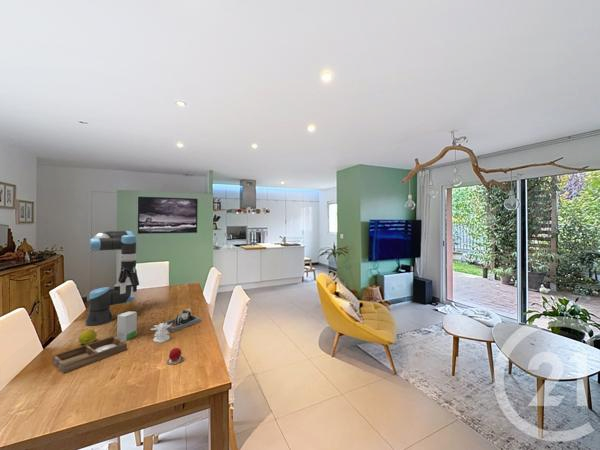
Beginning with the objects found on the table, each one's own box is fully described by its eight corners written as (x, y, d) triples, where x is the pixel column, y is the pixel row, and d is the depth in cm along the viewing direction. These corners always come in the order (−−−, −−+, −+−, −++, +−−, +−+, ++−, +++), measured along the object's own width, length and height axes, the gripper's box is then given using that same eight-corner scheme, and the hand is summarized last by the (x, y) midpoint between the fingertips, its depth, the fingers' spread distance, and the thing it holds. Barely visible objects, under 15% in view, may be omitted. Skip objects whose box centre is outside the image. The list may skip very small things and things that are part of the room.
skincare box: (125, 342, 146) (125, 316, 146) (115, 341, 147) (116, 315, 147) (137, 336, 154) (137, 311, 154) (128, 335, 155) (128, 310, 155)
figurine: (172, 334, 157) (172, 318, 157) (172, 340, 149) (172, 323, 149) (150, 338, 152) (150, 321, 152) (149, 344, 144) (149, 326, 144)
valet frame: (160, 327, 168) (160, 323, 168) (188, 317, 186) (188, 314, 186) (172, 332, 161) (172, 328, 161) (200, 321, 178) (200, 318, 178)
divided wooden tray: (52, 364, 122) (52, 355, 122) (113, 343, 144) (113, 335, 144) (63, 375, 114) (63, 365, 114) (126, 351, 136) (126, 343, 136)
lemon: (93, 346, 141) (93, 332, 141) (75, 349, 137) (76, 334, 137) (99, 338, 151) (99, 325, 150) (82, 340, 147) (83, 327, 147)
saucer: (91, 351, 133) (91, 348, 133) (112, 344, 141) (112, 341, 141) (98, 357, 128) (98, 354, 128) (119, 349, 136) (119, 346, 136)
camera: (179, 319, 182) (180, 306, 182) (191, 319, 184) (192, 306, 184) (173, 328, 166) (174, 313, 167) (186, 327, 168) (188, 313, 168)
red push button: (172, 367, 122) (172, 353, 122) (163, 362, 126) (163, 349, 126) (186, 359, 129) (187, 347, 129) (177, 355, 133) (178, 343, 133)
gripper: (112, 259, 154) (111, 293, 154) (132, 263, 141) (131, 300, 141) (125, 258, 160) (125, 290, 160) (146, 261, 147) (145, 297, 148)
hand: (128, 295), depth 151 cm, fingers open, 13 cm apart
